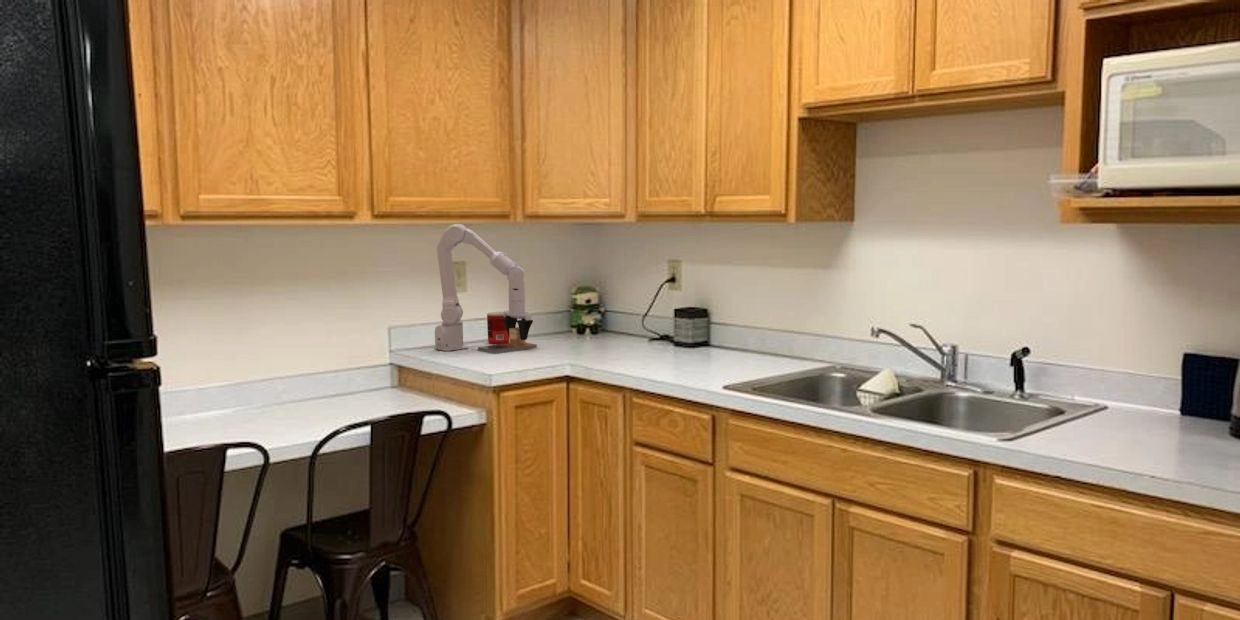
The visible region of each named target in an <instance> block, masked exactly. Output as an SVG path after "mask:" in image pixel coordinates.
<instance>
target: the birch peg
mask: <svg viewBox="0 0 1240 620" xmlns="http://www.w3.org/2000/svg"><path fill="white" fill-rule="evenodd" d="M509 337H510V338H509V343H510V345H514V346H519V345H526V343H525V342H526V340H521V337H520V329H519V326H516V328H509Z"/></svg>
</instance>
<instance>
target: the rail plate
mask: <svg viewBox="0 0 1240 620" xmlns="http://www.w3.org/2000/svg"><path fill="white" fill-rule="evenodd" d="M525 343H526V345H519V346H514V345H510V342H508V343H505V344H491V345H483V346H478V347H477V351H479V352H483V353H488V354H494V355H497V354H503V352H504V353H510V351H511V352H517V351H523V350H525V351H526V350H531V349H537V348H538V345H537V343H531V342H526V341H525Z"/></svg>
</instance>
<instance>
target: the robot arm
mask: <svg viewBox="0 0 1240 620" xmlns="http://www.w3.org/2000/svg"><path fill="white" fill-rule="evenodd" d="M460 243H463V244H467V245H472V246H473V247H475V248H476V249H477V250H478V251H480V252H481V253H482V254H483V255H485V256H486V257H487V258H489V260H490V265H491V266H492V267H494V268H495V269H496V270H498V272H500V274H502V275H503V276H506V279H507V281H508V288H507V289H508V310H505V311H502V312H503V313H504V317H505V318H503V319H502V321H503V322H504V324H505V326H506V329H507V333H508V336H509V328H516V327H519V329H520V337H521V340H525V341H526V340H528V337H529V332H530V330H531V329H530V328H531V326H532V324H533V322H534V319H532V314H530V313H528V311H526V292H525V291H526V289H525V277H526V272H525V270H524V268H523V267H522V266H520V265H518V262H516V261H513V260H512V259H511V258H509V257H508V254H507V253H506V252H502V251H495V250H494V249H493V248H492V247H491V246H490V245H489V244H488V243H487V242H486V241H484V239H482V238H481V237H480V236H479V235H478V234H477V233H475V232H474V231H473V230H472V229H470V228H468V227H467V226H466V225H464V224H462V223H455V224H450V225H449V226H448V227H447V228H446V229H444V230H443V232H442V235H441V238H440V240H439V242H438V243H437V246H436V253H437V261H438V270H439V277H440V284H441V285H440V286H441V292H442V293H441V294H442V303H441V304H442V305H441V306H442V307H441V308H442V309H441V312H440V318H441V321H442V322H441V324H440V325H437V326H436V327H435V329H434V344H435V347H434V349H435V350H438V351H443V352H449V351H455V350H456V351H457V350H464V349H468V348H469V346H466V345H464V325H463V324H464V323H463V321H462V319H461V318H463V315H464V310H463V308H462V306H461V304H460V300H459V297H458V294H457V293H458V291H457V286H456V285H457V284H456V277H455V270H454V269H455V268H454V262H453V253H452V252H453V251H454V249H455V248H456V247H457V245H459V244H460ZM517 325H518V326H517ZM509 339H510V337H509Z"/></svg>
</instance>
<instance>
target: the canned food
mask: <svg viewBox="0 0 1240 620" xmlns="http://www.w3.org/2000/svg"><path fill="white" fill-rule="evenodd" d="M503 312H504V311H492V312H491V311H490V312H488V313H486V318H487V319H486V322H487V342H488V344H491V345H497V344H505V343H510V338H509V336H508V333H507V329H506V326H505V324H504V322H503V321H502V319H503V318H505V317H504V313H503Z"/></svg>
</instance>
